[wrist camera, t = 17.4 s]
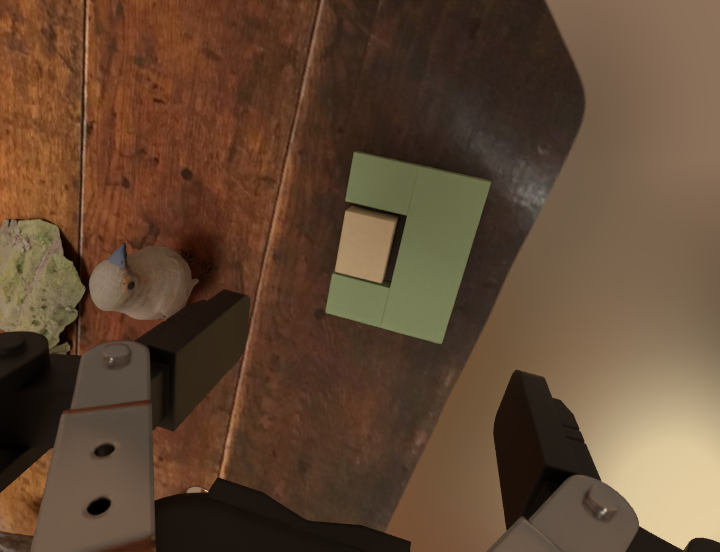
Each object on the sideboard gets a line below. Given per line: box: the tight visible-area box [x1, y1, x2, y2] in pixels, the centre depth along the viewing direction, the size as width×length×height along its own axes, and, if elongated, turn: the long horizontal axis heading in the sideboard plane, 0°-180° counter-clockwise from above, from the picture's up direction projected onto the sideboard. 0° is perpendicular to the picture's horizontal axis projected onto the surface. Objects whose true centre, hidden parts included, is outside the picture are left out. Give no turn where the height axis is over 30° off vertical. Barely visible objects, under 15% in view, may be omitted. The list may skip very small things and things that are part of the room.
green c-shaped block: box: [325, 151, 491, 344], centre depth 39 cm, size 16×12×2 cm
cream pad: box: [335, 206, 398, 283], centre depth 39 cm, size 6×5×3 cm
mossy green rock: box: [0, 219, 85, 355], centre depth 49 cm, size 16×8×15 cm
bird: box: [89, 243, 218, 320], centre depth 38 cm, size 5×14×15 cm, turn 153°
